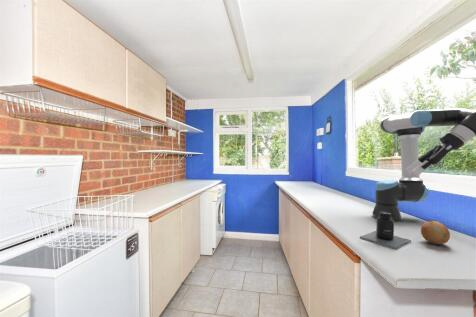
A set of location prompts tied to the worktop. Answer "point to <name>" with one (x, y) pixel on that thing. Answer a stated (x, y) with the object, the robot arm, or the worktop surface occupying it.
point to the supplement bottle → (385, 226)
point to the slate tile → (393, 244)
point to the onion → (435, 232)
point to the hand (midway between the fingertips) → (411, 172)
